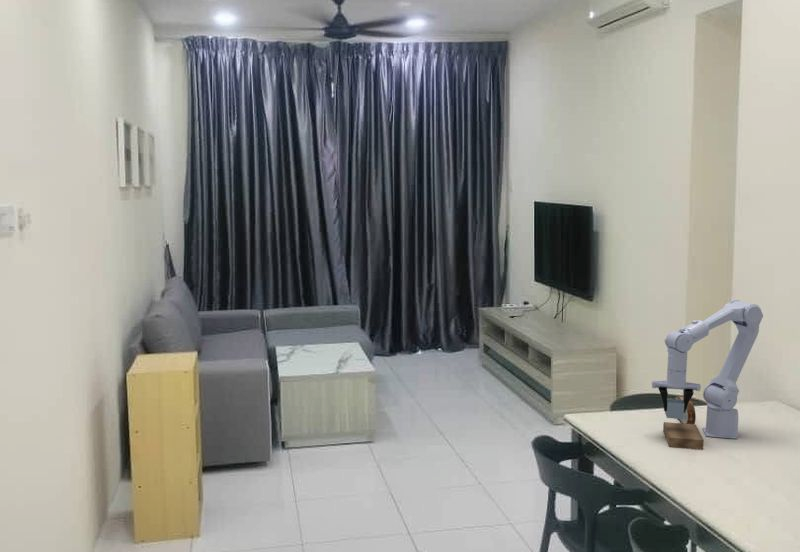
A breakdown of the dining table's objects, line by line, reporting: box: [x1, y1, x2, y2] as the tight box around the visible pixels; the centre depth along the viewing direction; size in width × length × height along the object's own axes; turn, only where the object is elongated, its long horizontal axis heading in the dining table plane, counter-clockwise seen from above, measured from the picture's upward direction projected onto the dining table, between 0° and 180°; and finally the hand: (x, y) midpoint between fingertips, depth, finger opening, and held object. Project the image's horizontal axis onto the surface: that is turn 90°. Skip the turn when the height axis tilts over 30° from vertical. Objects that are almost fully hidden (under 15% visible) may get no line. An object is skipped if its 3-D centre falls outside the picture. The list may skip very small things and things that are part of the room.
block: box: [664, 397, 684, 420], centre depth 257 cm, size 5×5×5 cm
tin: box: [674, 394, 697, 424], centre depth 275 cm, size 15×3×8 cm, turn 179°
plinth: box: [662, 421, 704, 450], centre depth 256 cm, size 10×16×3 cm, turn 168°
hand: (674, 411), depth 257 cm, fingers closed on block, 5 cm apart
